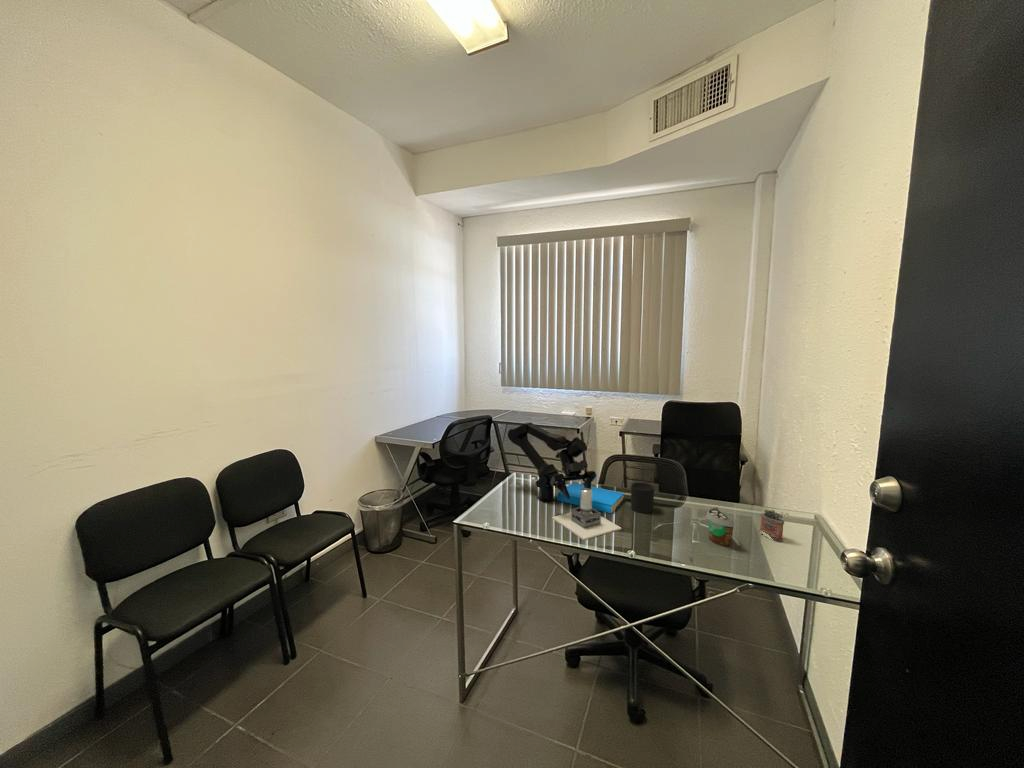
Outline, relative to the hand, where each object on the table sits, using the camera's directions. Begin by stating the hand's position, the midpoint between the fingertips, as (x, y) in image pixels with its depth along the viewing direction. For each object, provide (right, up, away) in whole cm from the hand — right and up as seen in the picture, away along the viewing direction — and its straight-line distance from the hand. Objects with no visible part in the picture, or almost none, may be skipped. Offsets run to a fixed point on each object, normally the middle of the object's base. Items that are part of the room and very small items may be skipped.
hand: (579, 497), depth 160 cm
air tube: (+2, -8, -4) cm, 9 cm away
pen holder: (+28, -8, +10) cm, 31 cm away
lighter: (+67, -11, -14) cm, 70 cm away
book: (+8, -7, +19) cm, 22 cm away
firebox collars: (+2, -9, -4) cm, 10 cm away
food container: (+46, -11, -16) cm, 50 cm away
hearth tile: (+2, -9, -4) cm, 10 cm away
